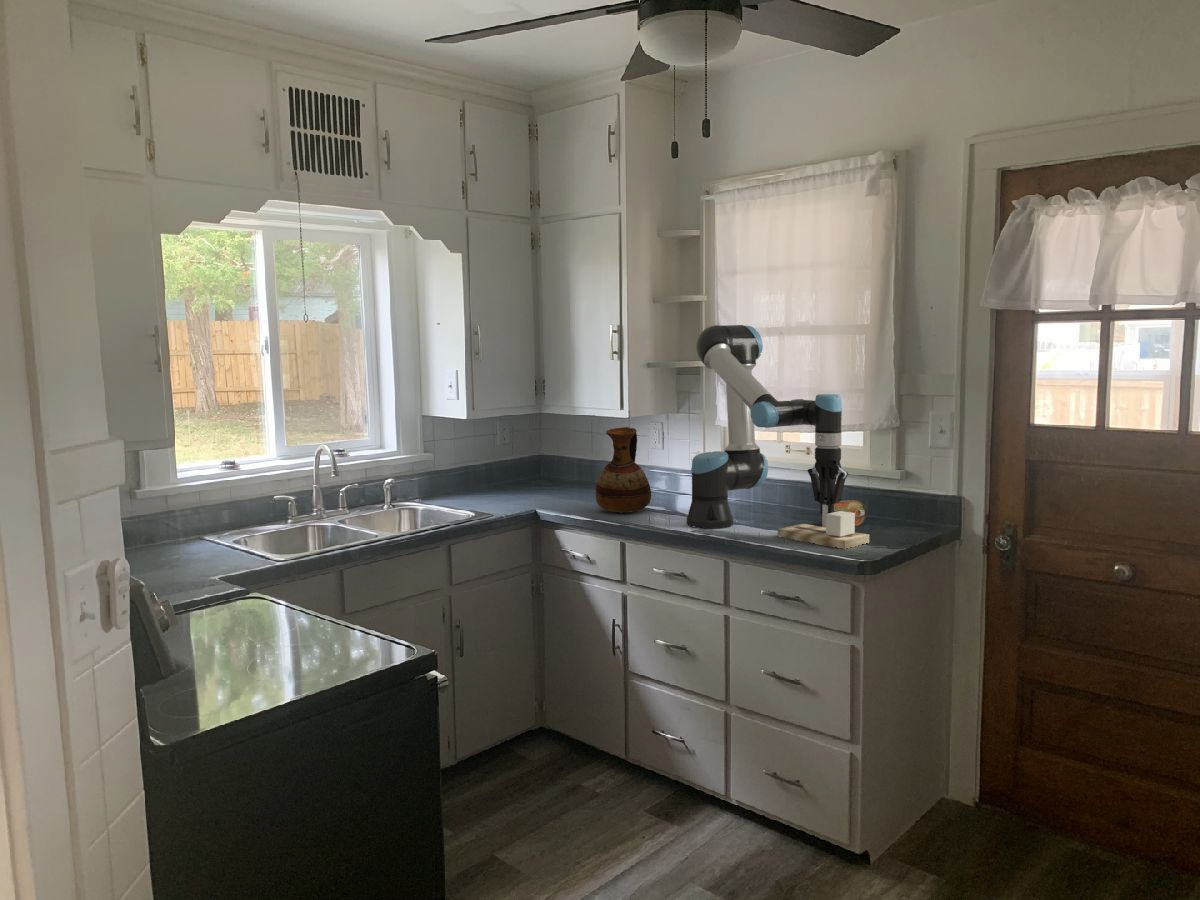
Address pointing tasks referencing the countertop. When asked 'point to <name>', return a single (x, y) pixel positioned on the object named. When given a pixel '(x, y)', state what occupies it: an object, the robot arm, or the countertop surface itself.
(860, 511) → the tin
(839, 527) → the fader tab
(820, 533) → the beige flat block
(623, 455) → the ceramic pitcher
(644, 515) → the countertop surface
